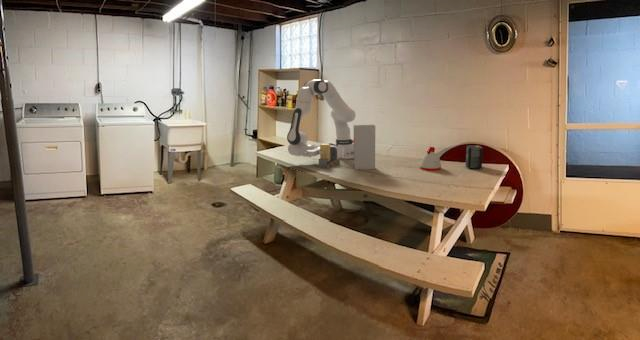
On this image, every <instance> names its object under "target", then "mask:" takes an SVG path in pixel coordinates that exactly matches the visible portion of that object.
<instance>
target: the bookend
mask: <svg viewBox="0 0 640 340" xmlns="http://www.w3.org/2000/svg"><path fill="white" fill-rule="evenodd" d="M327 164H328V159H323V158H320V157H319V158H318V166H319V169H328V168H327Z"/></svg>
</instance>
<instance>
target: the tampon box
mask: <svg viewBox="0 0 640 340" xmlns="http://www.w3.org/2000/svg"><path fill="white" fill-rule="evenodd" d="M483 150H484V147H482V146H481V145H477V144H476V145H470V144H469V145H466V151H465V165H466V166H465V167H466V169H468V168H479V169H478V170H482V169H483V152H484V151H483ZM480 168H481V169H480Z"/></svg>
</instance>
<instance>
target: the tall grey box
mask: <svg viewBox="0 0 640 340" xmlns="http://www.w3.org/2000/svg"><path fill="white" fill-rule="evenodd" d="M353 140H354V143H353V144H354V158H353V169H354V170H355V171H356V170H358V169H360V170H376V125H375V124H357V125H356V124H355V125H354V124H353Z"/></svg>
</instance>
